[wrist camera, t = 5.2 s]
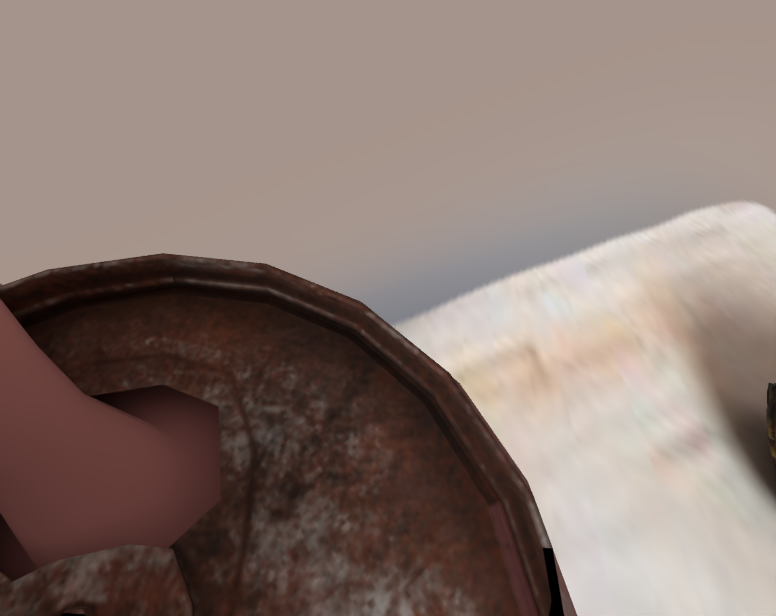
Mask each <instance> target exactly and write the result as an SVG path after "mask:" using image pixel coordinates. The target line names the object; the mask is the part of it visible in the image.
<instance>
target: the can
mask: <svg viewBox="0 0 776 616" xmlns="http://www.w3.org/2000/svg"><path fill="white" fill-rule="evenodd" d="M0 616H577V614H576V611H575V608H574V606H573V603H572V600H571V598H570V595H569V592H568V589H567V587H566V584H565V581H564V579H563V576H562V573H561V570H560V568H559V565H558V562H557V560H556V557H555V554H554V551H553V548H552V545H551V542H550V540H549V537H548V534H547V531H546V529H545V526H544V523H543V521H542V518H541V515H540V512H539V510H538V507H537V504H536V502H535V499H534V496H533V494H532V492H531V489H530V486H529V484H528V481H527V480H526V478H525V477H524V475H523V474H522V472H521V471H520V470H519V468H518V467H517V465H516V464H515V462H514V461H513V459H512V458H511V457H510V455H509V454H508V452H507V451H506V449H505V448H504V446H503V445H502V444H501V442H500V441H499V439H498V438H497V436H496V435H495V434H494V432H493V431H492V429H491V428H490V426H489V425H488V423H487V422H486V421H485V419H484V418H483V416H482V415H481V413H480V412H479V411H478V409H477V408H476V406H475V405H474V403H473V402H472V400H471V399H470V398H469V396H468V395H467V393H466V392H465V390H464V389H463V388H462V386H461V385H460V383H459V382H457V381H456V380H455V379H454V378H453V377H452V376H451V374H450V373H449V372H447V371H446V370H445V369H444V368H443V367H441V366H440V365H439V364H438V363H436V362H435V361H434V360H433V359H431V358H430V357H429V356H428V355H426V354H425V353H424V352H423V351H421V350H420V349H419V348H418V347H416V346H415V345H414V344H413V343H412V342H410V341H409V340H408V339H407V338H405V337H404V336H403V335H402V334H400V333H399V332H398V331H397V330H395V329H394V328H393V327H392V326H390V325H389V324H388V323H387V322H386V321H384V320H383V319H382V318H381V317H379V316H378V315H377V314H375V313H374V312H373V311H372V310H371V309H369V308H368V307H367V306H366V305H364V304H363V303H362V302H360V301H358V300H355V299H353V298H350V297H348V296H345V295H343V294H340V293H338V292H335V291H333V290H330V289H328V288H325V287H323V286H320V285H318V284H315V283H313V282H310V281H307V280H305V279H303V278H300V277H298V276H295V275H293V274H290V273H288V272H285V271H283V270H280V269H278V268H275V267H272V266H270V265H268V264H263V263H253V262H243V261H233V260H223V259H213V258H203V257H193V256H183V255H174V254H163V253H162V254H155V255H148V256H141V257H134V258H128V259H120V260H113V261H105V262H99V263H92V264H84V265H78V266H70V267H63V268H56V269H49V270H45V271H42V272H39V273H37V274H34V275H31V276H28V277H25V278H22V279H20V280H17V281H14V282H11V283H8V284H5V285H2V284H0Z"/></svg>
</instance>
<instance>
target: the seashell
mask: <svg viewBox="0 0 776 616" xmlns="http://www.w3.org/2000/svg"><path fill="white" fill-rule="evenodd" d="M766 412H767V421H768V431H767V433H768V438H769V442H770V451H771V454H772V457H773V460H774V464H775V467H776V383H774V384H771V383H769V385H768V390H767V410H766Z"/></svg>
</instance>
